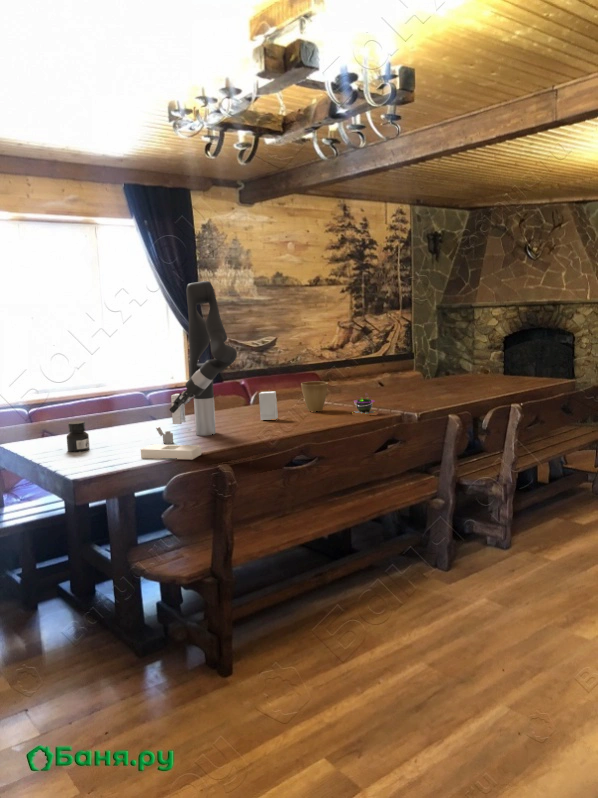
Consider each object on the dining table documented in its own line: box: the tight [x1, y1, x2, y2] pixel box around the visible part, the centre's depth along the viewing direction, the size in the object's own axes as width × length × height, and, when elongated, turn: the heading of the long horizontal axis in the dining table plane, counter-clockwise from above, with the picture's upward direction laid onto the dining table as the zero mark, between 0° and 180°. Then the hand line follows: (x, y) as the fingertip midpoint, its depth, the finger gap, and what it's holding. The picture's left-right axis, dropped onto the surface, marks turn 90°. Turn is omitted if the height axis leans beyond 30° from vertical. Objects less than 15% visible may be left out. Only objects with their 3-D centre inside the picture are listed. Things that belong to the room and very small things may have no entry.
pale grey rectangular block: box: [170, 393, 186, 425], centre depth 263 cm, size 5×4×12 cm
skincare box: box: [258, 390, 279, 421], centre depth 328 cm, size 8×6×15 cm
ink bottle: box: [66, 420, 90, 453], centre depth 269 cm, size 10×9×12 cm
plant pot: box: [300, 380, 329, 413], centre depth 351 cm, size 15×15×16 cm
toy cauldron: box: [353, 392, 375, 414], centre depth 339 cm, size 15×15×11 cm
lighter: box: [155, 425, 174, 444], centre depth 277 cm, size 7×2×8 cm, turn 123°
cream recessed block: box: [140, 444, 202, 461], centre depth 253 cm, size 9×22×4 cm, turn 75°
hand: (174, 410), depth 264 cm, fingers closed on pale grey rectangular block, 5 cm apart
